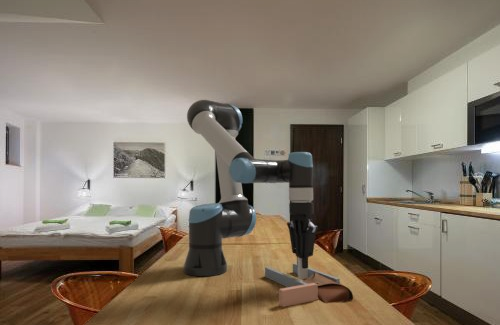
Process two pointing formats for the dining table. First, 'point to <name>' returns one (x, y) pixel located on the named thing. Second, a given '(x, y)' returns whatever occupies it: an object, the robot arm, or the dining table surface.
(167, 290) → the dining table surface
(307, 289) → the gate
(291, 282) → the channel
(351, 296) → the sunglasses case
